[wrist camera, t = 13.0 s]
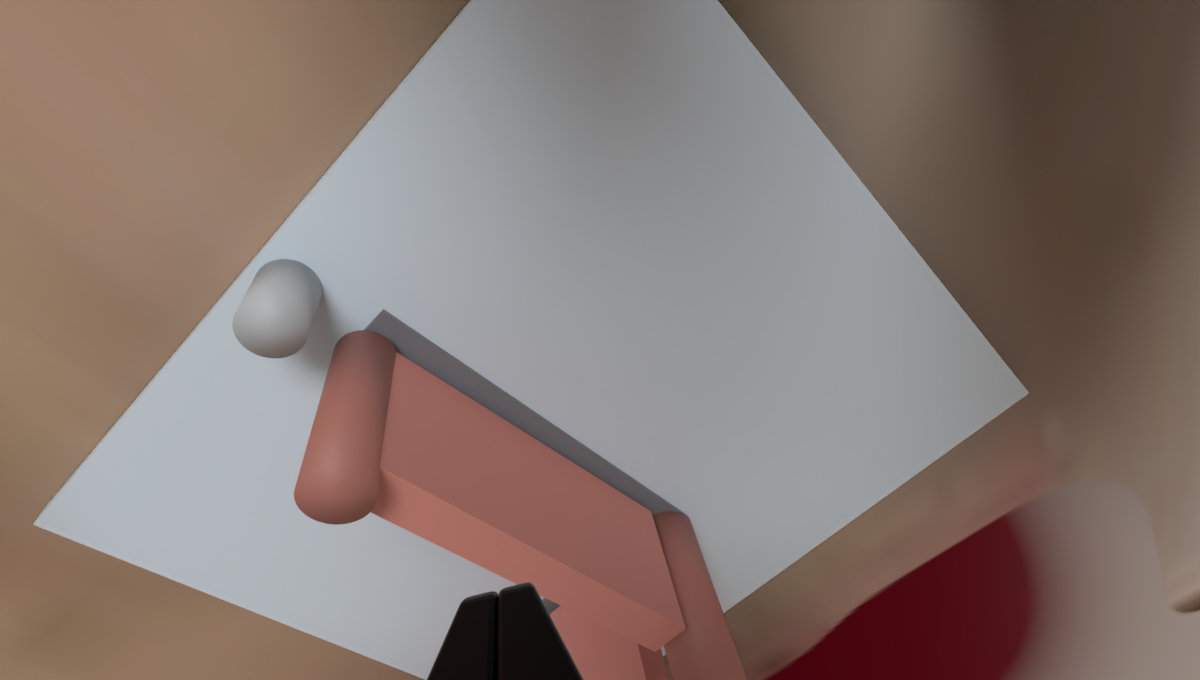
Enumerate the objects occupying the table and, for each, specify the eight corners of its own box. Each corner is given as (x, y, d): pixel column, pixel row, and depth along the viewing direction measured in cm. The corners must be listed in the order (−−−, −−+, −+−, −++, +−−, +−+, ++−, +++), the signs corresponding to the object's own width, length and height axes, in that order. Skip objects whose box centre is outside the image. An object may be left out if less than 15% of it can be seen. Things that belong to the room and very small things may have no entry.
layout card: (594, -149, 15) (617, -154, 12) (1017, 382, 25) (1070, 430, 22) (43, 509, 21) (-6, 581, 19) (556, 718, 31) (563, 781, 29)
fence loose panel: (655, 507, 24) (698, 647, 19) (621, 535, 24) (655, 678, 20) (357, 319, 18) (324, 454, 14) (320, 359, 19) (277, 503, 14)
